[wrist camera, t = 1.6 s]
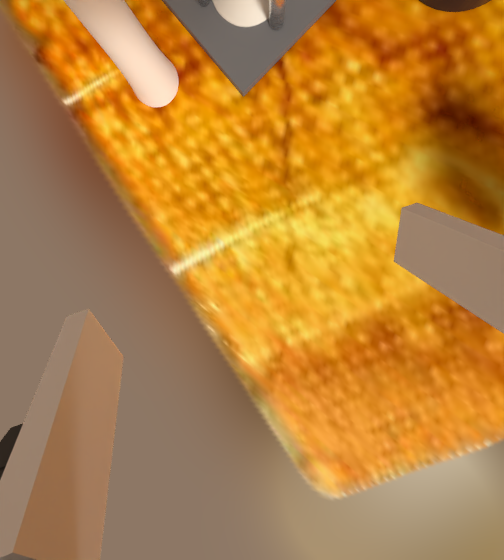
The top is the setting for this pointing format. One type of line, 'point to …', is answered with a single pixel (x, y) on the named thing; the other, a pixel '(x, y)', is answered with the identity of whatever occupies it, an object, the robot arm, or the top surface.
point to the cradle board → (245, 33)
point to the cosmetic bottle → (129, 49)
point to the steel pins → (275, 12)
